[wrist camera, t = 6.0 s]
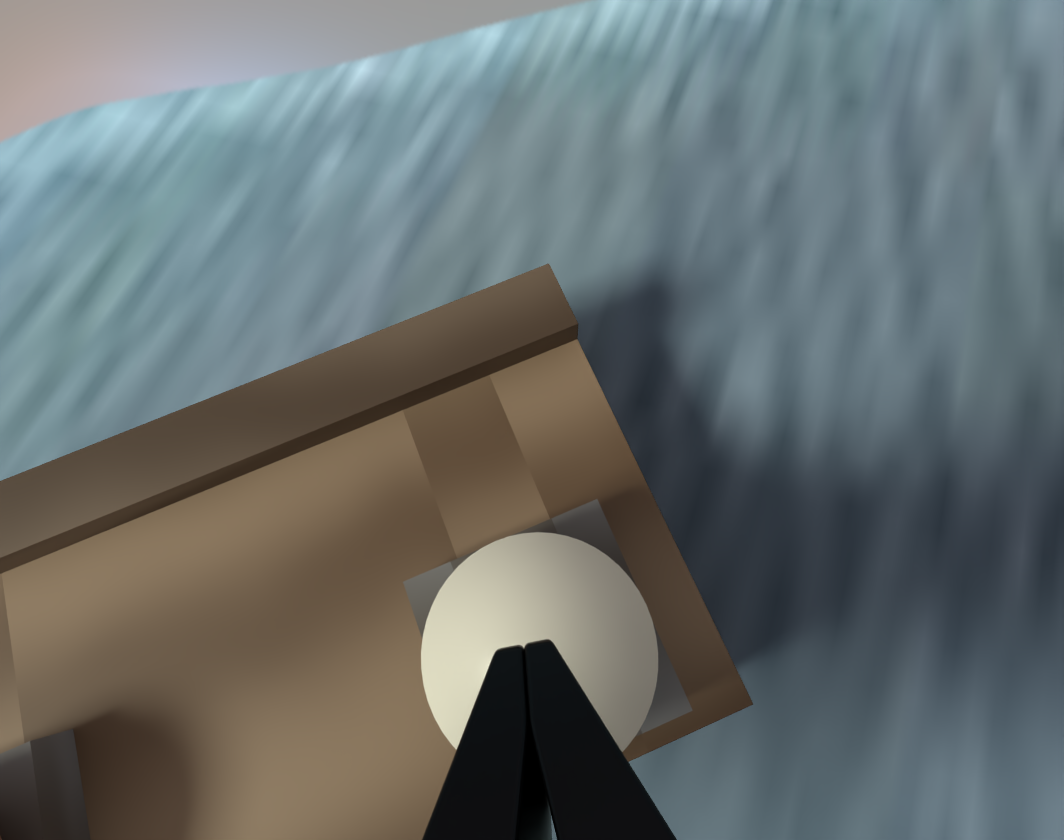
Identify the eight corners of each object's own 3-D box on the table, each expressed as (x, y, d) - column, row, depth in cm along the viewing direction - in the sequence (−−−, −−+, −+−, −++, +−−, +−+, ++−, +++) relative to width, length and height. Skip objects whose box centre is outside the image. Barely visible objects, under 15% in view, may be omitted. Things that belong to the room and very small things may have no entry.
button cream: (648, 586, 17) (690, 585, 11) (592, 747, 16) (608, 833, 10) (505, 526, 18) (478, 498, 12) (441, 677, 17) (380, 722, 11)
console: (715, 681, 17) (770, 715, 12) (-22, 1016, 16) (-260, 1190, 11) (551, 332, 20) (548, 259, 16) (-66, 582, 19) (-262, 580, 14)
